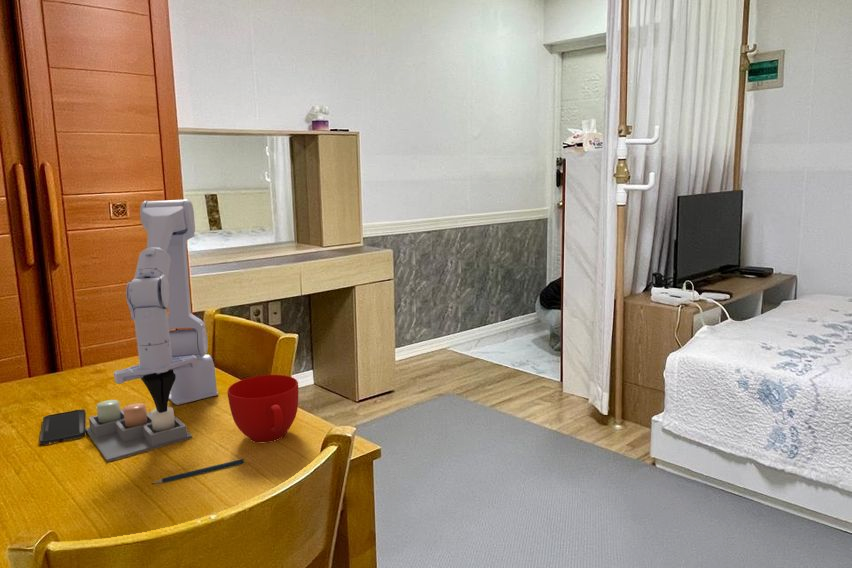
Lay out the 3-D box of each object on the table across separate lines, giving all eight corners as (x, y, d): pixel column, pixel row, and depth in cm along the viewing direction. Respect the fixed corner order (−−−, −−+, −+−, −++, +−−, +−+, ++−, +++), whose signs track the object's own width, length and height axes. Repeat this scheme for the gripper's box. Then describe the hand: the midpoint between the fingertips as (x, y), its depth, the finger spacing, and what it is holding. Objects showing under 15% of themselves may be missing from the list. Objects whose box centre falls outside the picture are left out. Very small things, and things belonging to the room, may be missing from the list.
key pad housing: (163, 410, 139) (161, 399, 139) (192, 438, 125) (190, 425, 125) (85, 430, 130) (83, 418, 130) (107, 462, 116) (105, 448, 116)
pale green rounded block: (118, 413, 133) (116, 398, 132) (123, 419, 129) (121, 403, 129) (96, 419, 130) (94, 403, 130) (101, 425, 127) (99, 408, 126)
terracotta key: (144, 417, 130) (142, 401, 129) (150, 423, 127) (148, 407, 126) (122, 422, 128) (120, 406, 127) (128, 429, 125) (126, 412, 124)
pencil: (244, 465, 114) (151, 487, 107) (243, 462, 115) (151, 484, 108) (244, 460, 114) (151, 482, 107) (242, 458, 115) (150, 479, 108)
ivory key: (171, 421, 128) (169, 405, 127) (177, 427, 125) (176, 411, 124) (150, 426, 125) (148, 410, 125) (156, 433, 122) (154, 416, 122)
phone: (85, 408, 141) (84, 433, 127) (85, 413, 141) (85, 438, 128) (43, 416, 137) (38, 442, 124) (43, 421, 137) (39, 447, 124)
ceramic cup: (245, 465, 113) (240, 410, 111) (226, 431, 128) (221, 382, 126) (317, 448, 119) (313, 395, 117) (291, 417, 134) (287, 370, 132)
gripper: (117, 354, 114) (126, 427, 117) (200, 338, 123) (207, 406, 125) (107, 345, 120) (117, 416, 122) (187, 331, 128) (194, 396, 131)
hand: (161, 410), depth 124 cm, fingers closed
